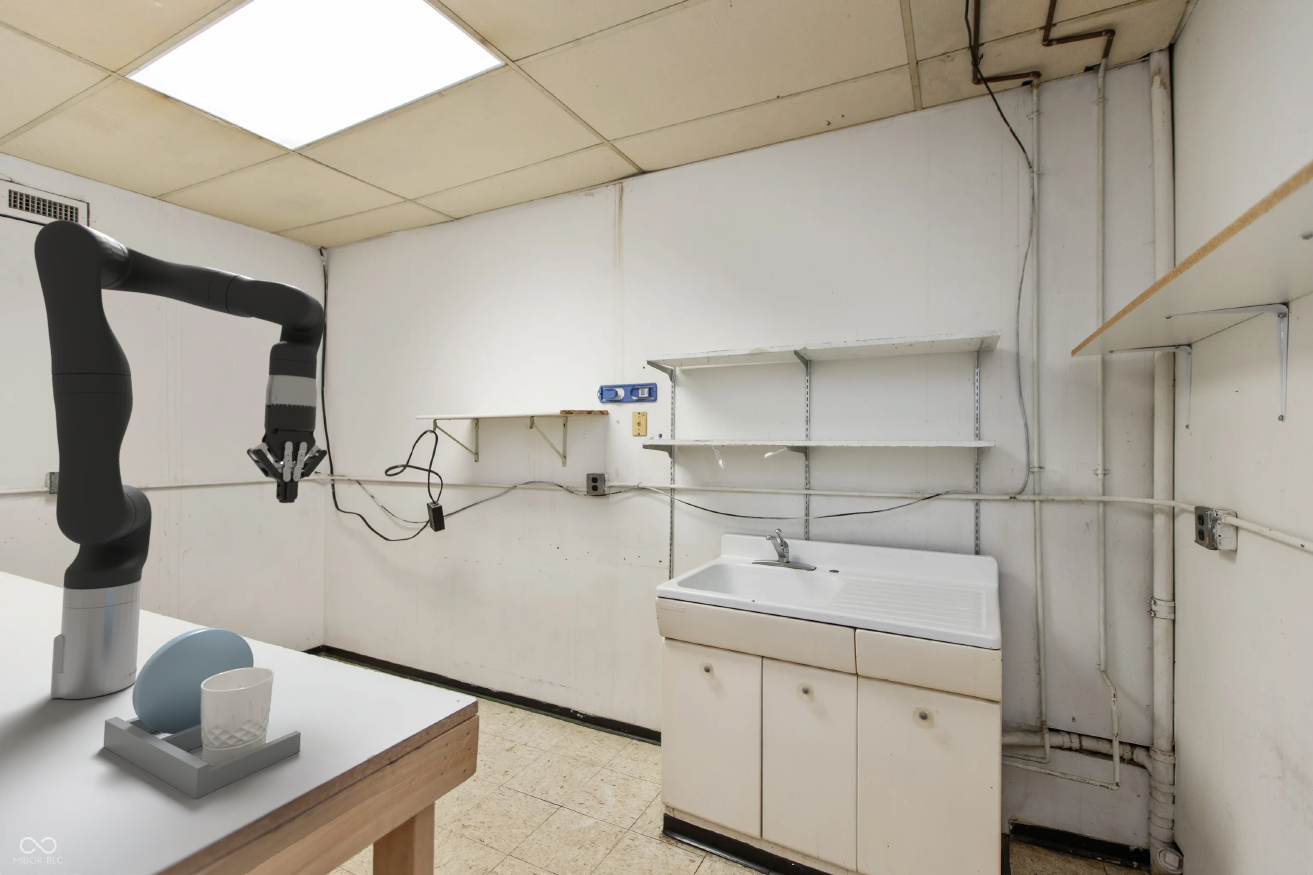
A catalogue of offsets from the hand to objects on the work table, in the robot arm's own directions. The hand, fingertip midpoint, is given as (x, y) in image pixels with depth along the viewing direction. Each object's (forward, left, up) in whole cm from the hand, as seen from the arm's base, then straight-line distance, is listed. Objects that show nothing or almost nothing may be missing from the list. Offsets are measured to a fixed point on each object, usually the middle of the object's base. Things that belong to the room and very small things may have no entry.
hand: (286, 502), depth 99 cm
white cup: (-1, -24, -31) cm, 40 cm away
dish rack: (-4, -21, -31) cm, 37 cm away
